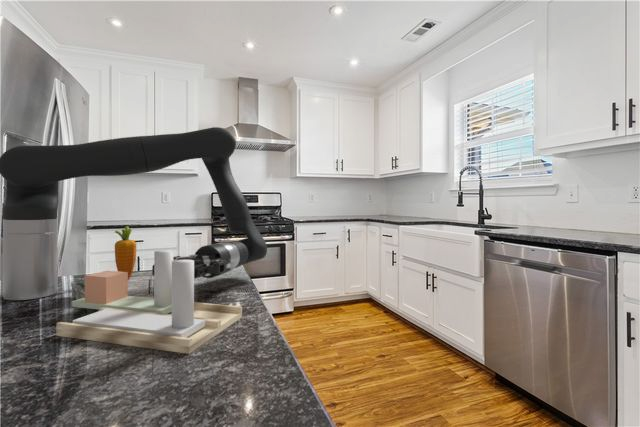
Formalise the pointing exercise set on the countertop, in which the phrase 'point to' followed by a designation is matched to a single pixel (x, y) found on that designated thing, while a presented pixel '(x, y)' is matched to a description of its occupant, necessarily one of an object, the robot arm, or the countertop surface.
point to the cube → (106, 286)
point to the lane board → (214, 319)
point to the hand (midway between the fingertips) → (172, 271)
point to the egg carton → (78, 290)
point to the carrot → (125, 252)
